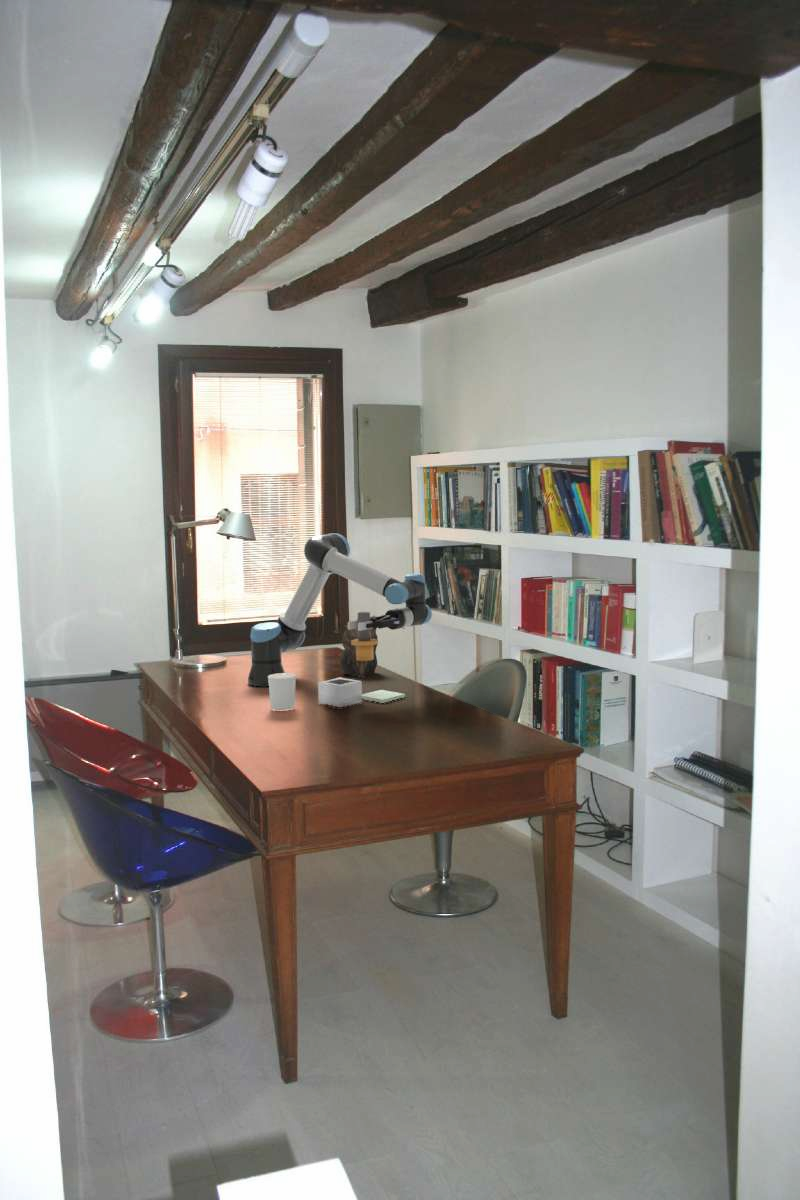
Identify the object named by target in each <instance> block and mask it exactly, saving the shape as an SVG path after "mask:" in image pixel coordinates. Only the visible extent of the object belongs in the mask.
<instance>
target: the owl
mask: <svg viewBox="0 0 800 1200" xmlns="http://www.w3.org/2000/svg"><path fill="white" fill-rule="evenodd" d="M344 629H345V631H344V633H343V635H342V639H341V641H342V647H343V649H344V650H343V652H342V655H341V659H340V664H341V668H342V671H343V675H345V674H349V675H348V676H350V675H355V676H360V677H359V678H362V677H363V676H365V677H367V676H366V675H368V676H371V675H373V674H372V673H374V674H375V673H376V669H377V666H378V659H377V658H378V657H377V654H376V652H377V646H378V644H379V643H378V644H376V645H373V652H374V660H370V661H358V660H356V646H354V645H351V640H354V639H358V628H356V629H350V630H348V624H347V625H345V626H344ZM370 634H371V638H372V639H377V640H378V638H379V637H378V635H377V628H375V629H374V628H373V627H372V629H370ZM378 641H379V640H378ZM370 674H371V675H370ZM355 676H354V677H355ZM363 678H364V677H363Z"/></svg>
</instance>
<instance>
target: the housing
mask: <svg viewBox="0 0 800 1200" xmlns="http://www.w3.org/2000/svg"><path fill="white" fill-rule="evenodd" d="M362 684H363V682H362V680H359V679H358V680H356V679H351V678H346V677H336V678H332V679H328V680H323V681H318V684H317V686H318V687H317V690H318V691H317V692H318V704H319V703H322V704H328V705H333V706H337V707H343V706H347V705H351V704H355V703H360V702H362V703H363V700H362V694H363V685H362ZM360 704H361V703H360Z"/></svg>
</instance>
